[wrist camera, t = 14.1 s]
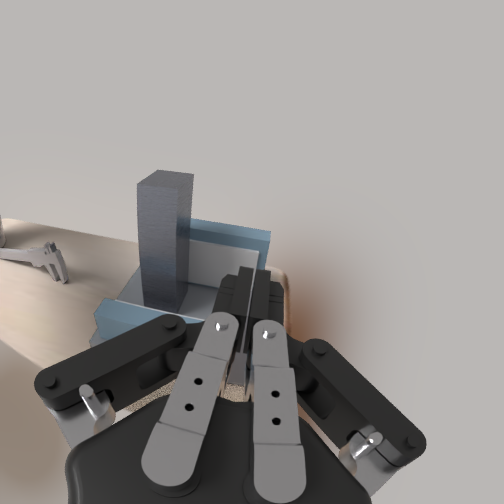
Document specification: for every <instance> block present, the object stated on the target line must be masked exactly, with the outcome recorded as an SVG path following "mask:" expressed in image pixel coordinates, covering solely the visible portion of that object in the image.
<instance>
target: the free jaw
mask: <svg viewBox="0 0 504 504" xmlns="http://www.w3.org/2000/svg"><path fill="white" fill-rule="evenodd" d="M251 295H252V291H251V292H250V299H249V305H248V312H247V318H246V323H245V329H244V334H243V339H242V345H241V350H240V353H238V352H236V354H235V359H234V362H233V363H232V368H231V371H230V375H229V379H228V382H234V383H240V384H244V374H245V365H246V360H247V354H245V353H243V348H244V341H245V334H246V328H247V321H248V314H249V307H250V301H251ZM164 314H174V313H169V312H165V311H160V310H156V309H152V308H147V307H143V306H139V305H135V304H131V303H127V302H123V301H119V300H111V299H107V298H105V299H104V300H103V302H102V303H101V304H100V306H99V307H98V309H97V310H96V312H95V313H94V316H95V320H96V323H97V327H98V330H99V334H100V337H101V338H103V339H107V340H109V339H112V338H114V337H116V336H118V335H120V334H122V333H125V332H127V331H129V330H131V329H133V328H135V327H137V326H139V325H142V324H144V323H146V322H148V321H150V320H152V319H154V318H156V317H159V316H161V315H164ZM175 315H178V316H180V317H182V318H183V319H184V320H185V322H186V323H199V322H202V321H204V320H203V319H198V318H193V317H188V316H183V315H179V314H175Z"/></svg>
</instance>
